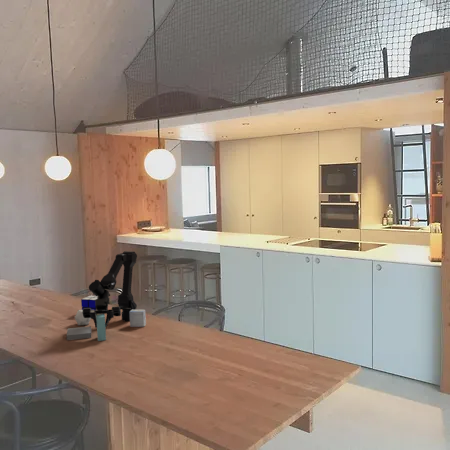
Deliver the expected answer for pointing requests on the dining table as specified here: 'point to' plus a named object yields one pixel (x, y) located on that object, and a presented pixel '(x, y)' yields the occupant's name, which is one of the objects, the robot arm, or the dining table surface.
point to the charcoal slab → (78, 333)
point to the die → (81, 318)
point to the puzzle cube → (89, 302)
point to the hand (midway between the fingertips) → (100, 327)
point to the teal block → (101, 327)
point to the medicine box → (137, 318)
